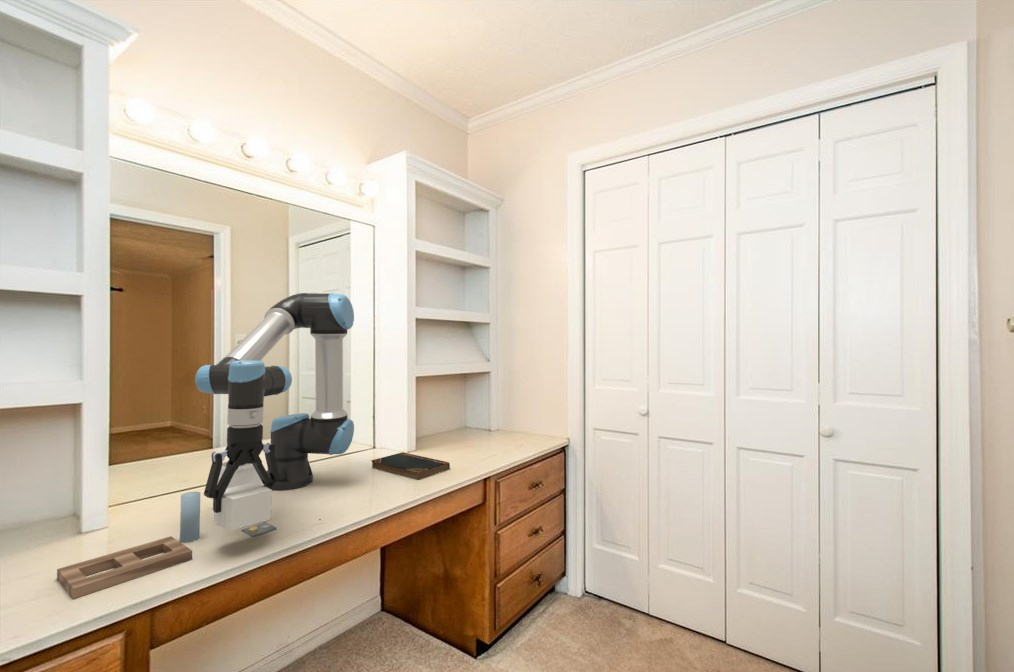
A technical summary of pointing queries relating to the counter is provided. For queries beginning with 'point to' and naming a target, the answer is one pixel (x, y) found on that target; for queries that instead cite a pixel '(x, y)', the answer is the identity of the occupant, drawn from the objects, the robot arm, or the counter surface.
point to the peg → (190, 517)
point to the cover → (246, 505)
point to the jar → (242, 475)
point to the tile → (259, 529)
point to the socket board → (122, 566)
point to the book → (410, 465)
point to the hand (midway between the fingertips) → (242, 518)
